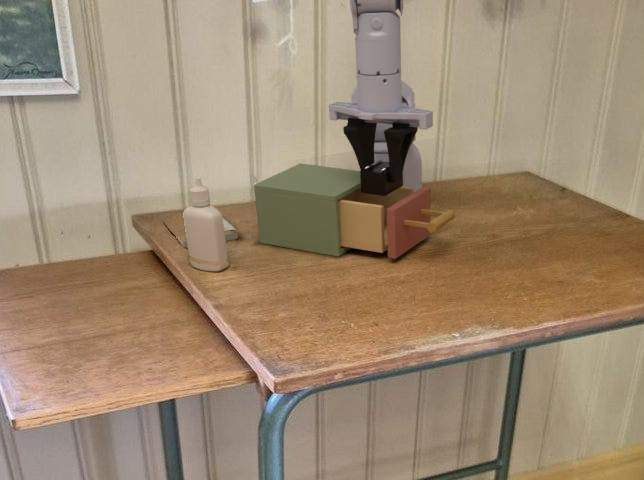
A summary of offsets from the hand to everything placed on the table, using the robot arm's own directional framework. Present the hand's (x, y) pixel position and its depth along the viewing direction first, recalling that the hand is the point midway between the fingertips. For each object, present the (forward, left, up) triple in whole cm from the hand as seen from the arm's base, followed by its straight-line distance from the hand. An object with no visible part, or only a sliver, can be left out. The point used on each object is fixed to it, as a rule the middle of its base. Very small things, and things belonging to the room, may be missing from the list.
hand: (381, 179), depth 124 cm
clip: (0, 0, -1) cm, 1 cm away
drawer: (0, +1, -9) cm, 9 cm away
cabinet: (+3, -10, -10) cm, 14 cm away
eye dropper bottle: (+21, -13, -10) cm, 27 cm away
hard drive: (+13, -26, -10) cm, 31 cm away
